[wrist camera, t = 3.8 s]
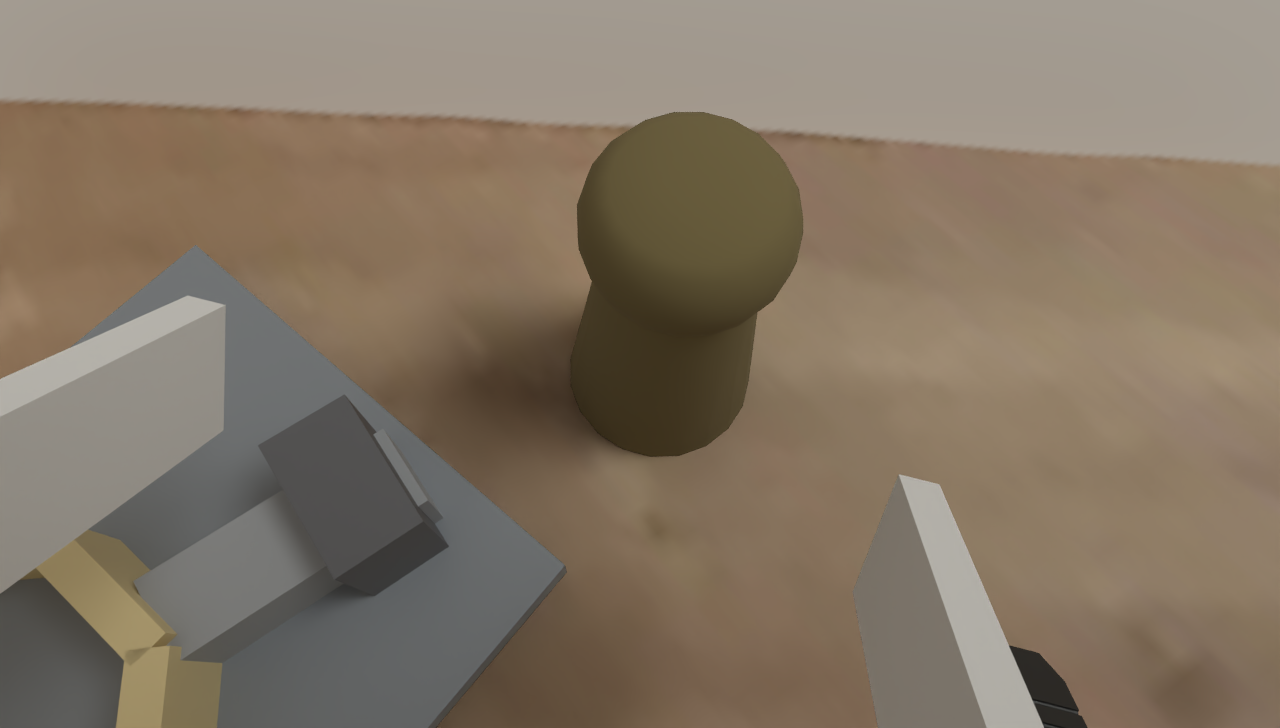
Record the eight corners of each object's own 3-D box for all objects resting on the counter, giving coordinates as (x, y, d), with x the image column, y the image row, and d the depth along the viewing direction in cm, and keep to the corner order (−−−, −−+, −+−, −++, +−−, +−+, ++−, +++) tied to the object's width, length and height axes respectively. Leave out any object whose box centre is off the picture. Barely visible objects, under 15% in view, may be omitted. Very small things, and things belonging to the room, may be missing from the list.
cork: (555, 305, 28) (533, 86, 18) (724, 277, 29) (795, 52, 19) (587, 472, 26) (582, 333, 16) (769, 438, 27) (876, 283, 16)
